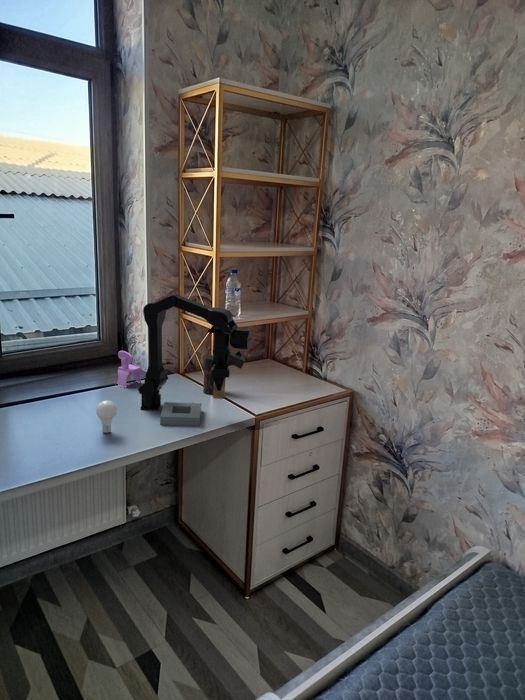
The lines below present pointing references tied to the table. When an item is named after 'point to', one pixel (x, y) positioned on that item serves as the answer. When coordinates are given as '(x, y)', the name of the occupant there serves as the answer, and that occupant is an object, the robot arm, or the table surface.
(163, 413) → the socket block
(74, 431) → the table surface
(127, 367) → the toy chair
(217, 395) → the peg
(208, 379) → the deodorant
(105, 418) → the lightbulb
